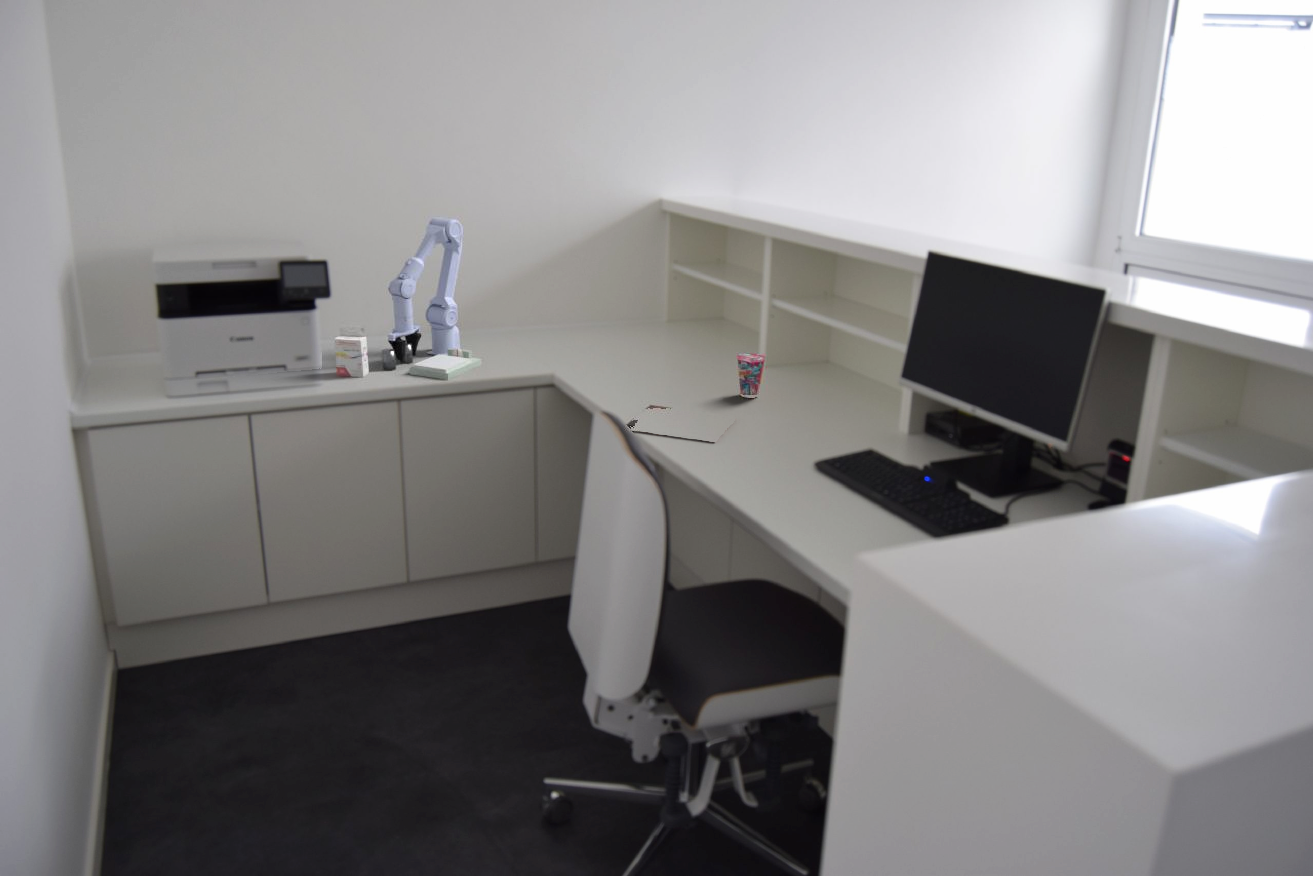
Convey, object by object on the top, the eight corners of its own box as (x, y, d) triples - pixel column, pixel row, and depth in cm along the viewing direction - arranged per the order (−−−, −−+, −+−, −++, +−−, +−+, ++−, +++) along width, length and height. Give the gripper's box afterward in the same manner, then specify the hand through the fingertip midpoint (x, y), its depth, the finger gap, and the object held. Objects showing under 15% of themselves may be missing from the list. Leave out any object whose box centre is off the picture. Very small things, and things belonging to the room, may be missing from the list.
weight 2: (405, 360, 323) (403, 342, 321) (415, 361, 322) (414, 343, 320) (397, 362, 320) (396, 344, 318) (408, 364, 318) (406, 346, 316)
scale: (444, 359, 324) (443, 344, 323) (481, 364, 319) (480, 349, 318) (409, 374, 308) (408, 358, 306) (448, 379, 303) (447, 364, 301)
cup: (729, 393, 296) (731, 354, 292) (755, 390, 299) (757, 352, 295) (744, 402, 288) (746, 362, 284) (770, 399, 291) (772, 359, 287)
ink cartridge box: (336, 376, 304) (332, 329, 299) (342, 371, 309) (338, 325, 304) (363, 377, 303) (359, 330, 298) (369, 373, 308) (366, 326, 303)
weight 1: (388, 366, 315) (386, 348, 313) (398, 368, 314) (397, 349, 312) (380, 369, 312) (378, 351, 310) (390, 371, 310) (389, 352, 308)
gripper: (406, 310, 323) (409, 351, 328) (378, 319, 311) (381, 361, 315) (425, 312, 321) (427, 353, 325) (397, 321, 308) (400, 364, 313)
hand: (406, 357), depth 320 cm, fingers open, 6 cm apart
